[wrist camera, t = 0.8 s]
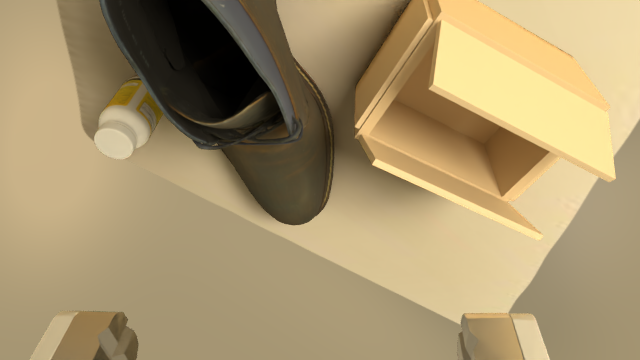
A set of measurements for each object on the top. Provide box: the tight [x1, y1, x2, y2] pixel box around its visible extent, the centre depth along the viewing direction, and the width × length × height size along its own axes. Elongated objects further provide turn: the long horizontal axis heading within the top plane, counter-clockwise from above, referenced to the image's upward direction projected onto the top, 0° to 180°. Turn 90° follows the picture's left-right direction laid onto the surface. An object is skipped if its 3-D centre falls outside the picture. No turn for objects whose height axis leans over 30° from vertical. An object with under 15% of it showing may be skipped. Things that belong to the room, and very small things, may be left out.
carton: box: [354, 0, 610, 202], centre depth 48 cm, size 14×19×10 cm
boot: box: [99, 0, 334, 225], centre depth 46 cm, size 15×41×20 cm, turn 14°
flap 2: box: [358, 134, 543, 241], centre depth 44 cm, size 1×18×7 cm, turn 63°
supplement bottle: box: [94, 76, 163, 159], centre depth 53 cm, size 5×5×10 cm
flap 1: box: [428, 20, 616, 182], centre depth 38 cm, size 1×18×7 cm, turn 63°
